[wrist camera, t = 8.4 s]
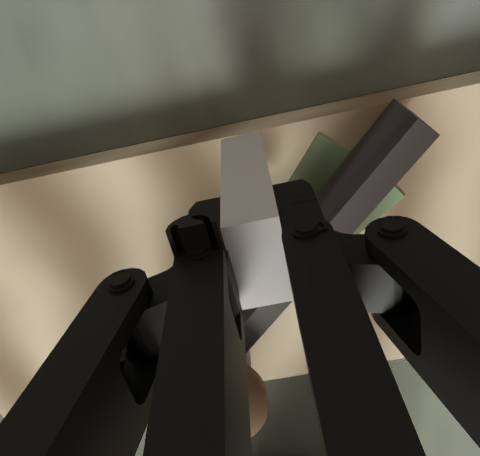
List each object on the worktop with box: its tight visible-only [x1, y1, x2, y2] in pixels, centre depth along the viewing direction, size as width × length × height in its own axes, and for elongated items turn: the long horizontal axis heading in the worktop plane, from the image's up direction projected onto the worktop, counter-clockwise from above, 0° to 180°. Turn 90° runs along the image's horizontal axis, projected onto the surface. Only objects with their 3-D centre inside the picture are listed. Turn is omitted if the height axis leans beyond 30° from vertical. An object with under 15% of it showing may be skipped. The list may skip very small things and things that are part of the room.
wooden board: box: [0, 71, 480, 418], centre depth 22 cm, size 28×14×2 cm, turn 102°
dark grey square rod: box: [240, 98, 440, 437], centre depth 19 cm, size 5×17×4 cm, turn 147°
